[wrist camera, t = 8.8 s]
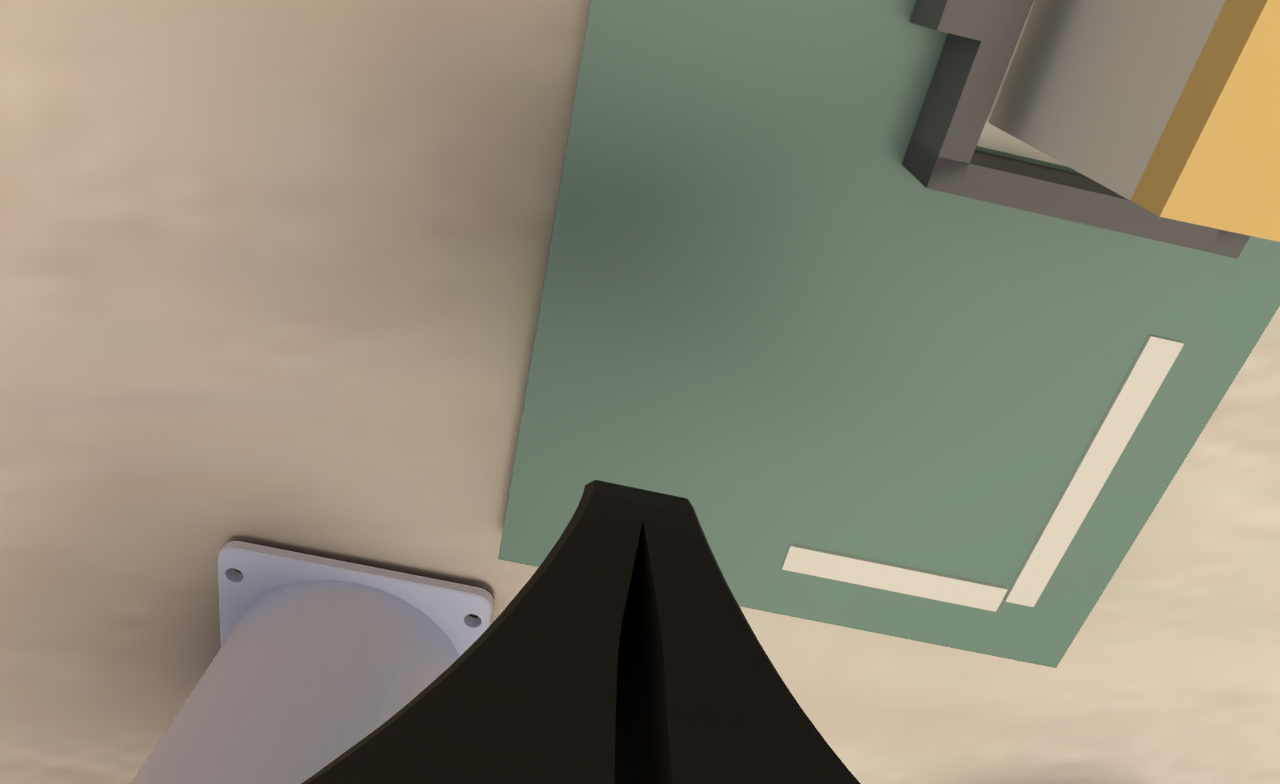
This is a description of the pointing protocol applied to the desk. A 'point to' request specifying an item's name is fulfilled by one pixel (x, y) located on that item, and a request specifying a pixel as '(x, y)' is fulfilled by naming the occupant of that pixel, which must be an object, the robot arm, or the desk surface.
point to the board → (866, 321)
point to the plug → (1157, 103)
